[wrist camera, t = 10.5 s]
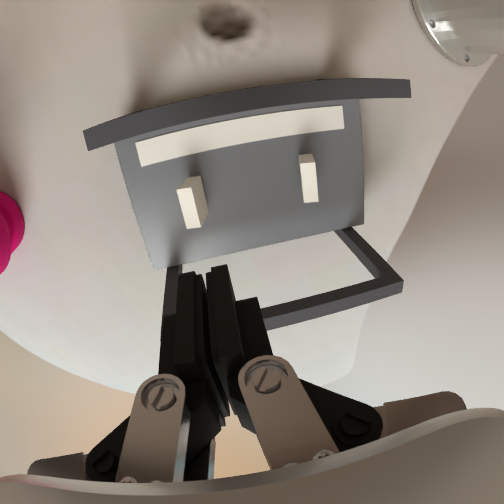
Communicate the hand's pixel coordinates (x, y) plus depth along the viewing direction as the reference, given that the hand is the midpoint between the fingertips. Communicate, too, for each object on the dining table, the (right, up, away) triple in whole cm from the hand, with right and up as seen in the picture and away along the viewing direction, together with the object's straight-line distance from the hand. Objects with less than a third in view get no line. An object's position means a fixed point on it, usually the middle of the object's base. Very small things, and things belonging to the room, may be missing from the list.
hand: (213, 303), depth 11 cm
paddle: (-2, +6, +11) cm, 13 cm away
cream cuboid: (+5, +8, +12) cm, 15 cm away
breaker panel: (+1, +8, +14) cm, 17 cm away
